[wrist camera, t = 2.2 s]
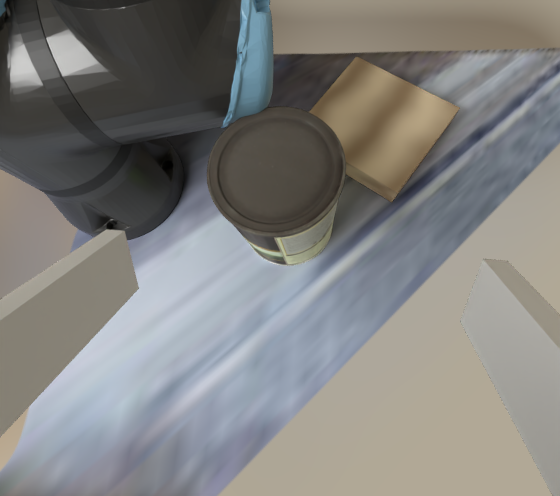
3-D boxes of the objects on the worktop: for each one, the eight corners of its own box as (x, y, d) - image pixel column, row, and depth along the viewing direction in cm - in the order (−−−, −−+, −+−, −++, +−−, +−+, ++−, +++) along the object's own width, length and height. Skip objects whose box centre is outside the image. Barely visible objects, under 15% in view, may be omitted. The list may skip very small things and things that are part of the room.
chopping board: (294, 142, 39) (293, 130, 37) (353, 72, 41) (356, 56, 39) (391, 202, 36) (397, 192, 34) (450, 122, 38) (460, 107, 36)
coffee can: (243, 267, 36) (200, 234, 22) (248, 183, 38) (211, 107, 24) (333, 268, 35) (347, 235, 21) (333, 182, 37) (345, 102, 23)
